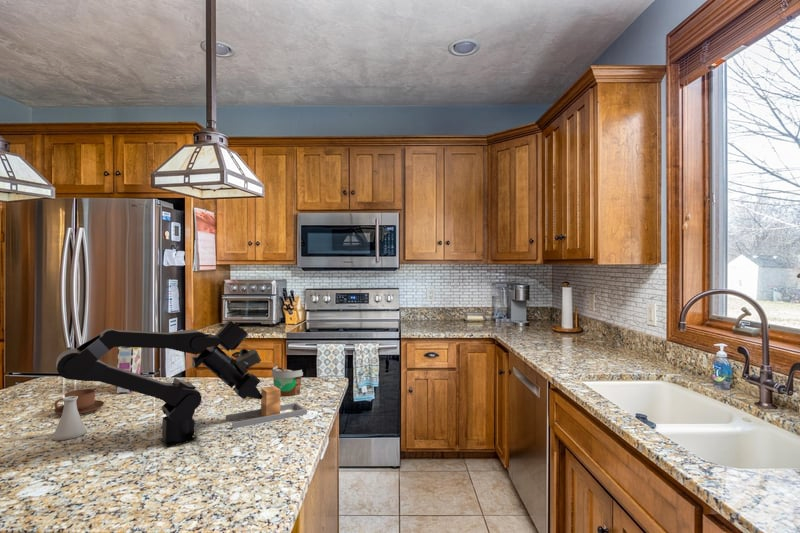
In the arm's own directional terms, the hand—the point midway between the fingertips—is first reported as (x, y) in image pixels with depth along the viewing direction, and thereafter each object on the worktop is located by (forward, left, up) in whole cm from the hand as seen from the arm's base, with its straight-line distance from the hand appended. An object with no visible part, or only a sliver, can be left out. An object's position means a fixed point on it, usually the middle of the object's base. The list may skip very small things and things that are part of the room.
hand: (261, 397), depth 120 cm
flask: (-40, +26, -7) cm, 49 cm away
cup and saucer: (-35, +47, -8) cm, 59 cm away
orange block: (+3, 0, -6) cm, 6 cm away
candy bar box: (-18, +65, -7) cm, 68 cm away
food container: (+17, +17, -7) cm, 25 cm away
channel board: (+2, 0, -7) cm, 7 cm away
